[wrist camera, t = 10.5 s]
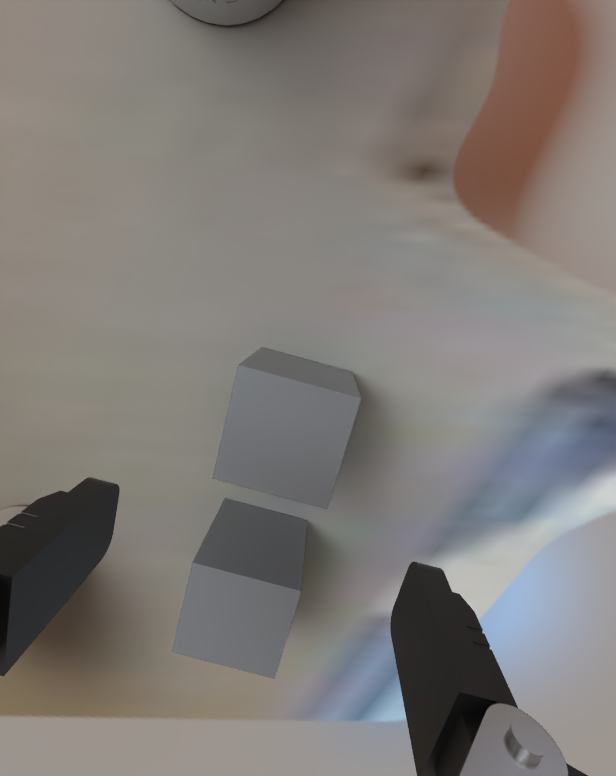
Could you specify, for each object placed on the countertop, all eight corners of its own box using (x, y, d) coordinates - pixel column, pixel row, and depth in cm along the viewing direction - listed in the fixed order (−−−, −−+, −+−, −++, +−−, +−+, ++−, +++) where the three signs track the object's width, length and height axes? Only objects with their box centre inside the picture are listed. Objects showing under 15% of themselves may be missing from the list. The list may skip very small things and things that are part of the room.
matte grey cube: (261, 347, 26) (238, 364, 19) (351, 371, 26) (361, 398, 19) (241, 432, 27) (212, 478, 20) (326, 455, 27) (327, 509, 20)
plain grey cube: (224, 498, 28) (192, 562, 21) (307, 520, 28) (301, 591, 21) (207, 569, 29) (171, 652, 23) (286, 590, 29) (274, 678, 23)
